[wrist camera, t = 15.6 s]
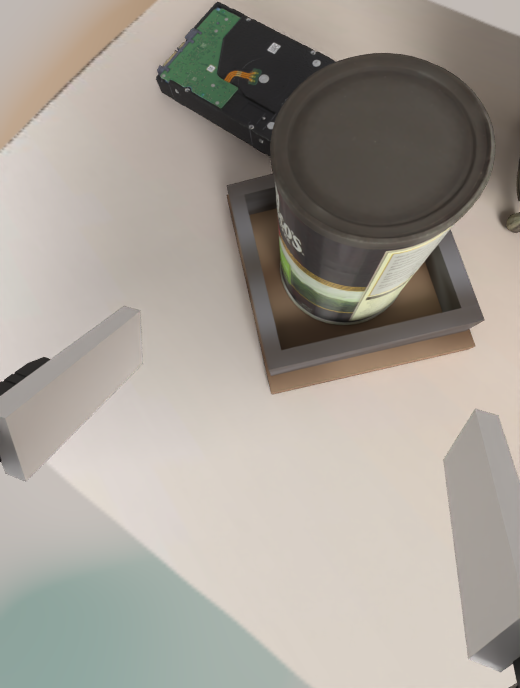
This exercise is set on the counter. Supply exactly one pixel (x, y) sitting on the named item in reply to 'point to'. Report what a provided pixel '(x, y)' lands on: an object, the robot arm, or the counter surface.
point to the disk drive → (237, 73)
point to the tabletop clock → (515, 221)
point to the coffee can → (372, 179)
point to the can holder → (345, 340)
